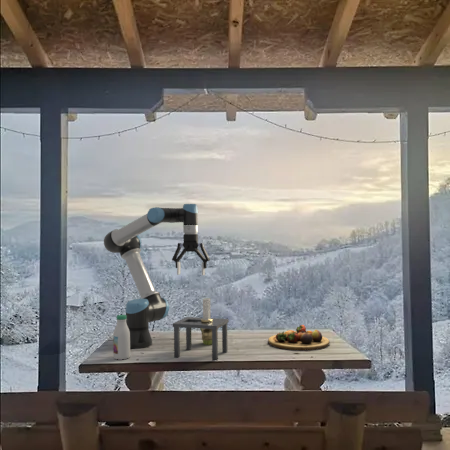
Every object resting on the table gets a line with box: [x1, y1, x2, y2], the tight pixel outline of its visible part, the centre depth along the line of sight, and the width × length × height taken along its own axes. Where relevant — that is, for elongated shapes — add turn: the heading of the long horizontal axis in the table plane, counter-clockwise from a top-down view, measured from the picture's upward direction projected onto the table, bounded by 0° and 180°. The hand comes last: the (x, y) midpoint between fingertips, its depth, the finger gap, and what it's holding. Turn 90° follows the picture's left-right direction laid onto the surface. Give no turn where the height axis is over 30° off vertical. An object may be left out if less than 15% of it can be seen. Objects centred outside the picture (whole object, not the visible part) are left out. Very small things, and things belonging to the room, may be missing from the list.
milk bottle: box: [112, 314, 131, 361], centre depth 232 cm, size 8×8×20 cm
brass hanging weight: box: [201, 297, 213, 341], centre depth 236 cm, size 6×6×20 cm
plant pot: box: [199, 328, 212, 346], centre depth 259 cm, size 9×9×9 cm
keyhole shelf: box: [172, 316, 230, 361], centre depth 237 cm, size 22×18×16 cm
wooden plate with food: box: [267, 324, 330, 351], centre depth 258 cm, size 32×32×8 cm
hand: (191, 274), depth 254 cm, fingers open, 13 cm apart
